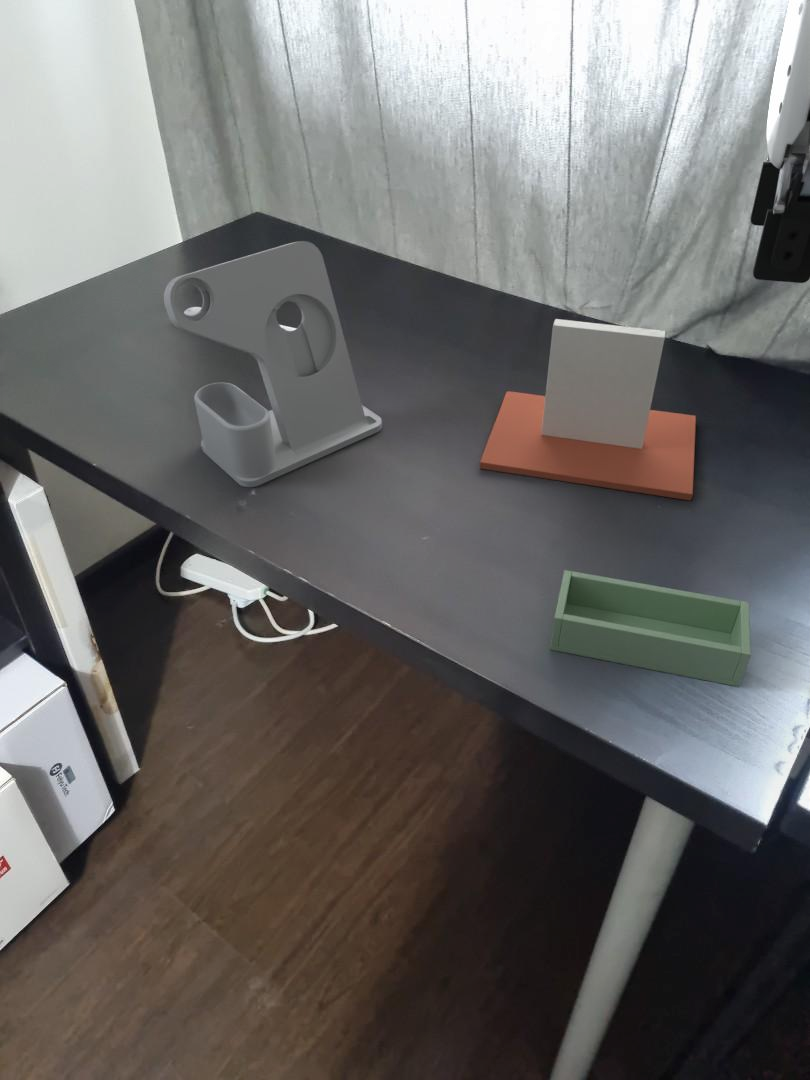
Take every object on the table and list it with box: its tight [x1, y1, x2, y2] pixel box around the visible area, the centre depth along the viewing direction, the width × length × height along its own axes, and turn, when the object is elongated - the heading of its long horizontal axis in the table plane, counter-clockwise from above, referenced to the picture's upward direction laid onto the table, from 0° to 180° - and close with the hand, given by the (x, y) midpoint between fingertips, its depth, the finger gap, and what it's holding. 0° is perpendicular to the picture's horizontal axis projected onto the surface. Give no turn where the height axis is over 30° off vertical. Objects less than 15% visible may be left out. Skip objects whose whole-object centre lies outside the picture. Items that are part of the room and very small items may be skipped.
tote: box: [549, 569, 752, 688], centre depth 62 cm, size 14×5×4 cm, turn 74°
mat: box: [479, 391, 697, 502], centre depth 83 cm, size 20×14×1 cm
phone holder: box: [163, 240, 383, 488], centre depth 80 cm, size 17×10×18 cm, turn 129°
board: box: [541, 318, 666, 449], centre depth 79 cm, size 10×1×12 cm, turn 74°
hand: (776, 250), depth 54 cm, fingers open, 9 cm apart
